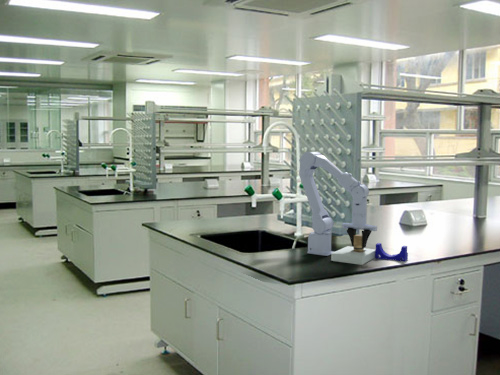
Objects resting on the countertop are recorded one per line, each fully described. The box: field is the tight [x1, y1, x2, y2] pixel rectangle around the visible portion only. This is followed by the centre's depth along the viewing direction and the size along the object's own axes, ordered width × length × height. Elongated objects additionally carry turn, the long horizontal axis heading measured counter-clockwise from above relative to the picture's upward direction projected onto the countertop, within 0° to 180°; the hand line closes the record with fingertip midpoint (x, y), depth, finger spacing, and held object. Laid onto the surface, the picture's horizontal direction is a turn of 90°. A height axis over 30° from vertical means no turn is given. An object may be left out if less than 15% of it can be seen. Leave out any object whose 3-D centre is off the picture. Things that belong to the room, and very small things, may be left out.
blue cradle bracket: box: [374, 242, 409, 262], centre depth 206 cm, size 12×4×6 cm, turn 59°
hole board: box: [330, 245, 376, 266], centre depth 206 cm, size 13×17×3 cm
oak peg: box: [354, 234, 364, 253], centre depth 206 cm, size 4×4×8 cm
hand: (358, 246), depth 207 cm, fingers closed on oak peg, 4 cm apart
